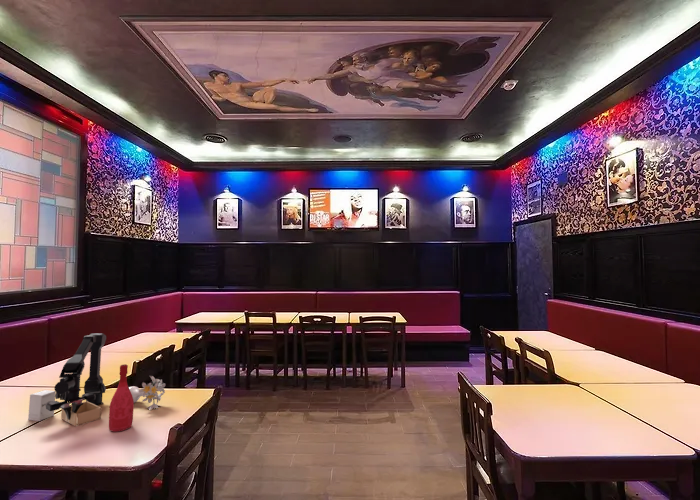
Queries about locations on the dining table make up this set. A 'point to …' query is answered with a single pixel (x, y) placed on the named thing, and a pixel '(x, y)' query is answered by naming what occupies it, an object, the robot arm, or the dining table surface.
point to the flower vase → (148, 392)
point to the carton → (87, 413)
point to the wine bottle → (121, 405)
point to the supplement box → (40, 405)
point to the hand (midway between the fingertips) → (70, 419)
